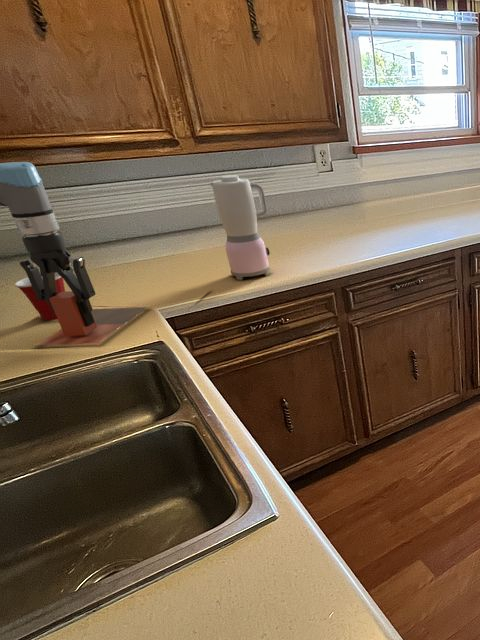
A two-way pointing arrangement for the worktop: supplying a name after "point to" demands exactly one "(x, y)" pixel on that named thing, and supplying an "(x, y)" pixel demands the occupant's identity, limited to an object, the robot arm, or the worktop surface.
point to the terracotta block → (69, 314)
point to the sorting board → (105, 324)
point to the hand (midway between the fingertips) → (78, 324)
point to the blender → (241, 225)
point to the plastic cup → (41, 305)
